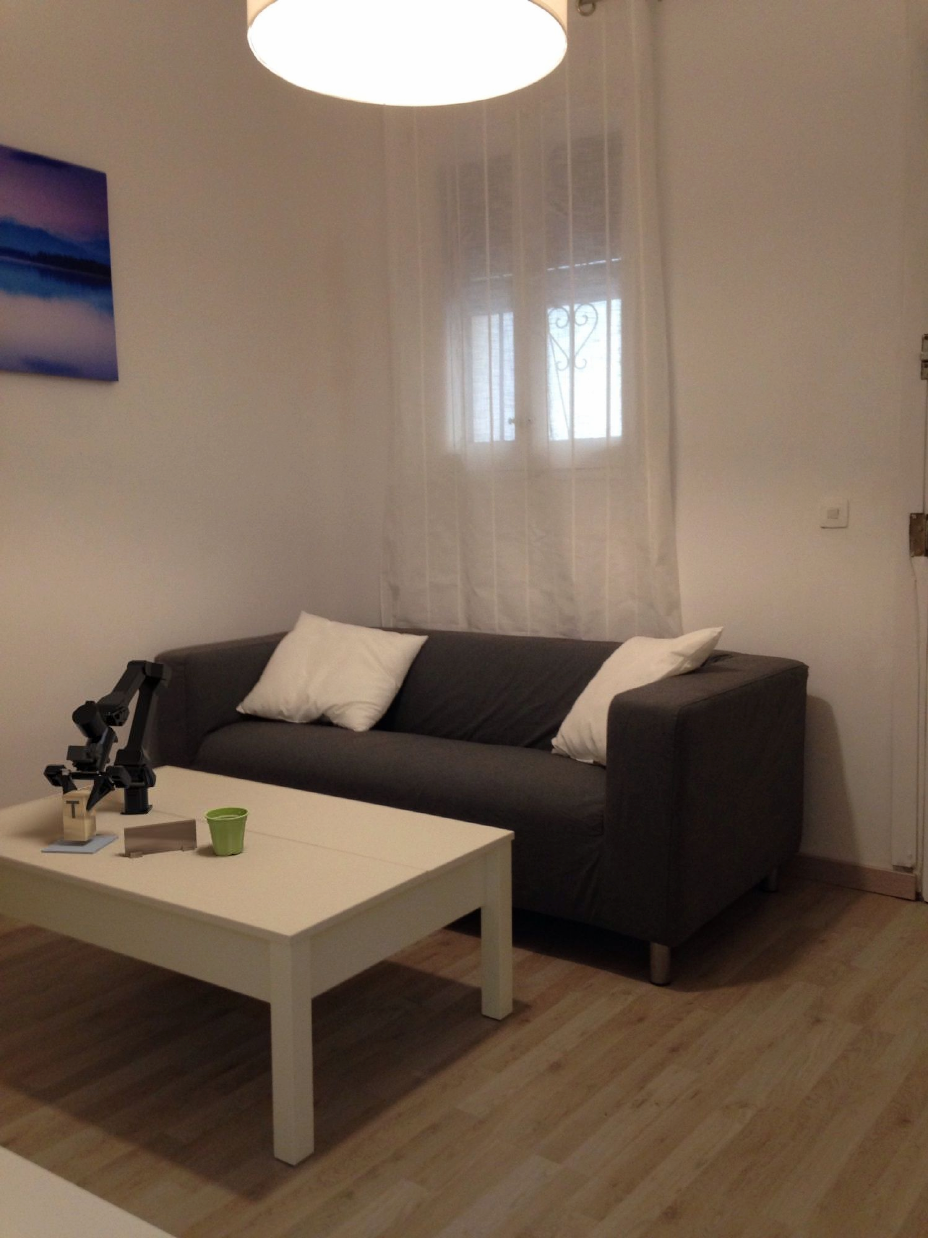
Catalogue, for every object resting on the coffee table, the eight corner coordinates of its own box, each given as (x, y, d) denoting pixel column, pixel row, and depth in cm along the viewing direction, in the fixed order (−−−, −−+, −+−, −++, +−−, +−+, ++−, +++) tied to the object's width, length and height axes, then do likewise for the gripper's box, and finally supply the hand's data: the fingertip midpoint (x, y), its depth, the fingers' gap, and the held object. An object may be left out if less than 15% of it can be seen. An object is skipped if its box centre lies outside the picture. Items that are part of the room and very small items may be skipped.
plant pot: (240, 859, 236) (238, 819, 235) (198, 857, 238) (197, 817, 237) (257, 846, 245) (255, 807, 244) (217, 844, 247) (215, 806, 246)
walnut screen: (124, 853, 241) (123, 826, 240) (194, 844, 247) (193, 817, 247) (126, 858, 237) (125, 831, 237) (198, 849, 243) (196, 822, 243)
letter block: (75, 833, 251) (73, 789, 250) (96, 834, 250) (94, 790, 249) (64, 840, 246) (61, 795, 245) (85, 841, 245) (82, 796, 244)
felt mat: (69, 836, 255) (69, 834, 255) (118, 837, 253) (118, 836, 253) (41, 852, 243) (41, 850, 243) (93, 854, 241) (93, 852, 241)
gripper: (45, 729, 251) (21, 790, 241) (123, 730, 248) (102, 792, 238) (64, 755, 259) (42, 815, 250) (140, 757, 256) (120, 817, 247)
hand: (75, 809), depth 246 cm, fingers closed on letter block, 5 cm apart
